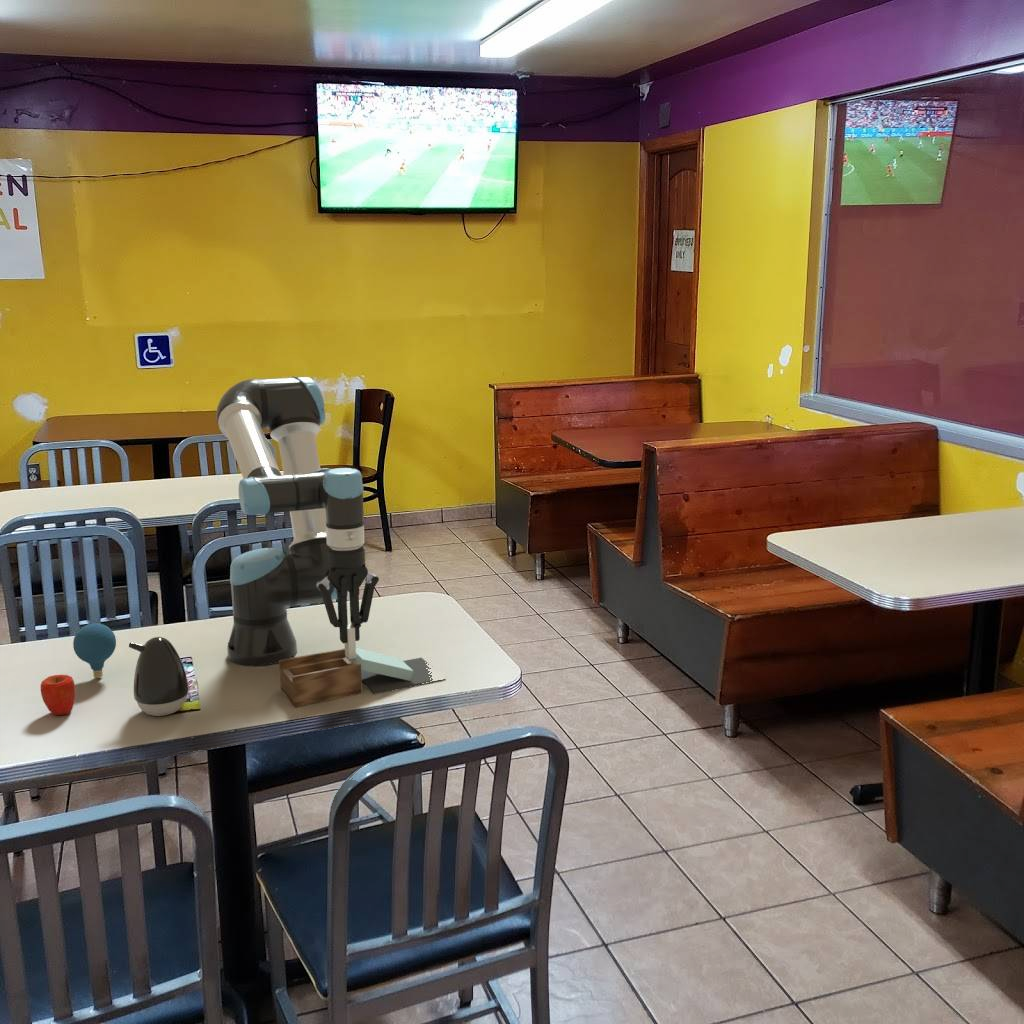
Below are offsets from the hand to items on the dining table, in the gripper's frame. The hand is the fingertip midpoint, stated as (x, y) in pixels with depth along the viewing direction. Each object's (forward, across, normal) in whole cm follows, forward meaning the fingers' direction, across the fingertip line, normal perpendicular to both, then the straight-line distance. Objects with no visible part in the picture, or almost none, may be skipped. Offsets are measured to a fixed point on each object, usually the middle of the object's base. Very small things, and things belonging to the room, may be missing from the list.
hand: (350, 656), depth 211 cm
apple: (+7, -55, +14) cm, 57 cm away
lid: (+4, +6, 0) cm, 7 cm away
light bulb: (+7, -46, +29) cm, 55 cm away
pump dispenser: (+7, -37, +6) cm, 38 cm away
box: (+7, -6, 0) cm, 9 cm away
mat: (+7, +10, 0) cm, 12 cm away
